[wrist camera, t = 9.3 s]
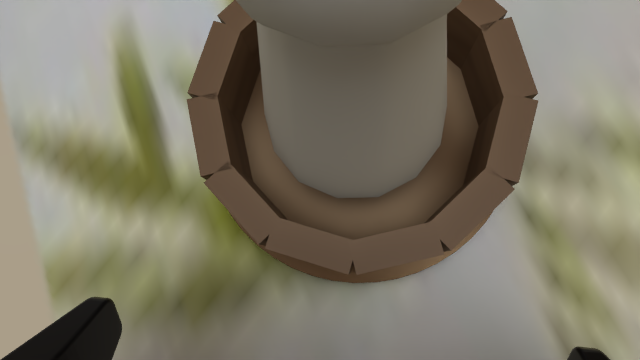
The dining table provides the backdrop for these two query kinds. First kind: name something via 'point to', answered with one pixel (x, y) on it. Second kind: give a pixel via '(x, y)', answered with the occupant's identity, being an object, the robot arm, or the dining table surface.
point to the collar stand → (392, 207)
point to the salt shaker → (353, 88)
